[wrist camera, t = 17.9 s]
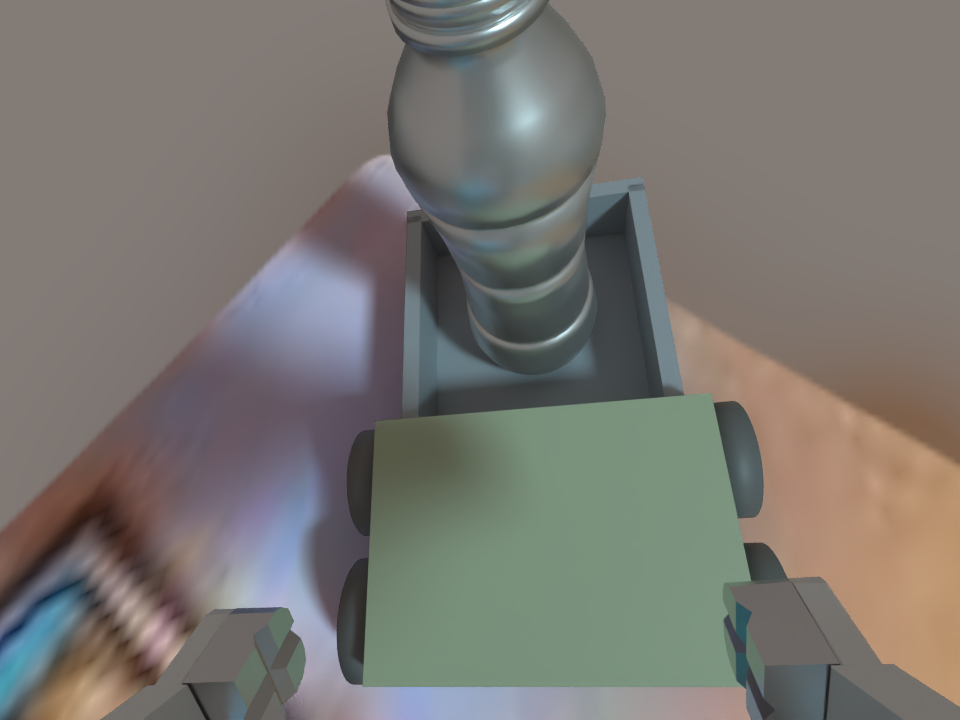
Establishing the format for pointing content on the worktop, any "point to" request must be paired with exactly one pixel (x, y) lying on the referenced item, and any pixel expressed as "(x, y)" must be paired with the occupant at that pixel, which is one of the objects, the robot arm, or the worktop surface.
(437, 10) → the silver metal bottle
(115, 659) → the worktop surface
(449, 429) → the toy pickup truck
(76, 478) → the worktop surface
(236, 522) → the worktop surface
